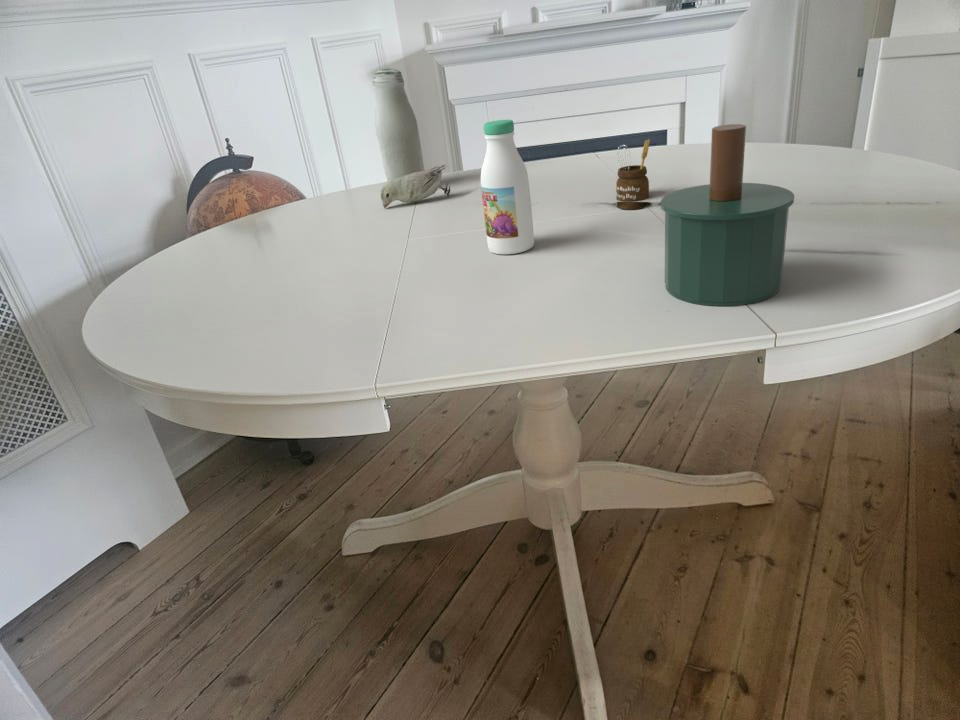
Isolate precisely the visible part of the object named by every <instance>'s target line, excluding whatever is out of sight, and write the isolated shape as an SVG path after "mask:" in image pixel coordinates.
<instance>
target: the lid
mask: <svg viewBox="0 0 960 720" xmlns="http://www.w3.org/2000/svg"><path fill="white" fill-rule="evenodd" d="M746 134H747V125H746V124H740V123H736V124H735V123H733V124H731V123H730V124H723V125H722V124H721V125H717V126H713V127H712V128H711V144H710V145H711V147H710V148H711V149H710V167H709V169H710V170H709V172H710V173H709V184H702V185H696V186H689V187H685V188H681V189H678V190H675V191H672V192H670V193H668V194H666V195H664V197H662V198H661V200H660V209H661V210H662V211H663V212H664V213H665V212H666V213H668V214H671V215H674V216H678V217H683V218H689V219H699V220H735V219H746V218H754V217H760V216H765V215H769V214H773V213H777V212H780V211H782V210H785V209H787V208H788V207H789V208H790V207H792V206H793V204H794V202H795V194H794V192H792V191H791V190H790V189H788V188H785V187H783V186H779V185H773V184H768V183H767V184H766V183H757V182H756V183H755V182H743V181H744V166H745V152H746V147H745V146H746Z"/></svg>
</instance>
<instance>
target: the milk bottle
mask: <svg viewBox="0 0 960 720" xmlns="http://www.w3.org/2000/svg"><path fill="white" fill-rule="evenodd" d="M483 134H484V139H486V150H485V156H484V159H483V163H482V167H481V171H480V188H481V189H480V192H481V199H482V209H483V218H484V226H485V235H486V242H487V248H488V250H489V252H491V253H493V254H496V255H514V254H519V253H523V252H527V251H529V250H531V249H532V248H533V247H534V244H535V234H534V222H533V213H532V212H533V211H532V200H531V199H532V198H531V190H530V182H529V181H530V180H529V175H528V171H527V167H526V165H525V162H524V160H523V159H522V157H521V155H520V153H519V151H518V149H517V146H516V144H515V139H514V136H515V124H514V121H513V120H512V119H497V120H492V121H488V122H485V123H484V124H483Z"/></svg>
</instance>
